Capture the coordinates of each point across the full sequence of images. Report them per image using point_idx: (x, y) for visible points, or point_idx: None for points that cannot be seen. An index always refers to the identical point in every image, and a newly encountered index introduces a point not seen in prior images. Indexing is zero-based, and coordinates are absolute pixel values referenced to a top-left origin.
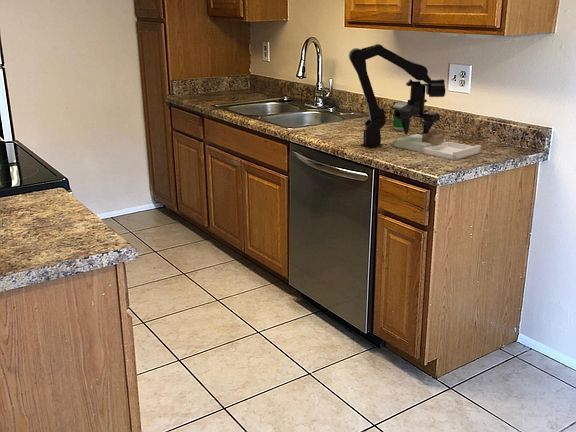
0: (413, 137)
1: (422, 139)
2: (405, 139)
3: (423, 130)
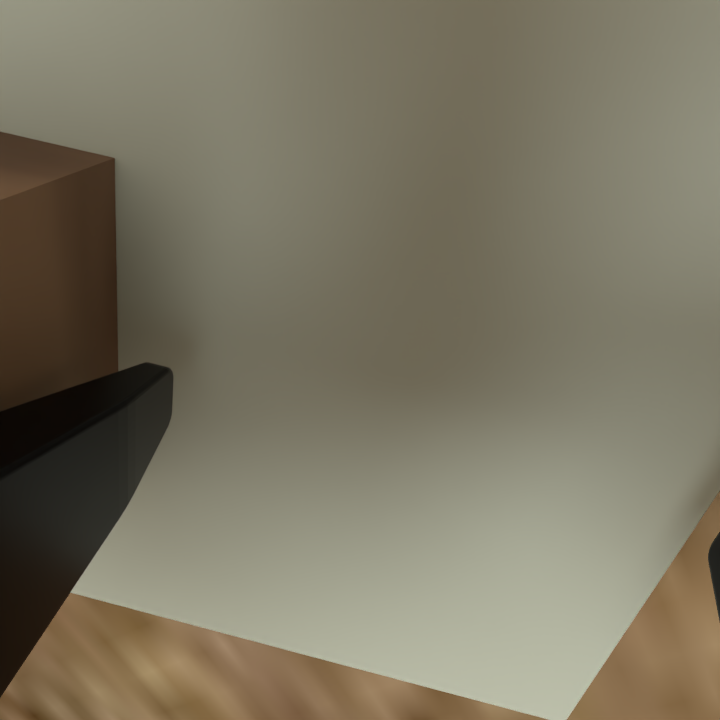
0: (508, 475)
1: (59, 164)
2: (632, 164)
3: (12, 453)
